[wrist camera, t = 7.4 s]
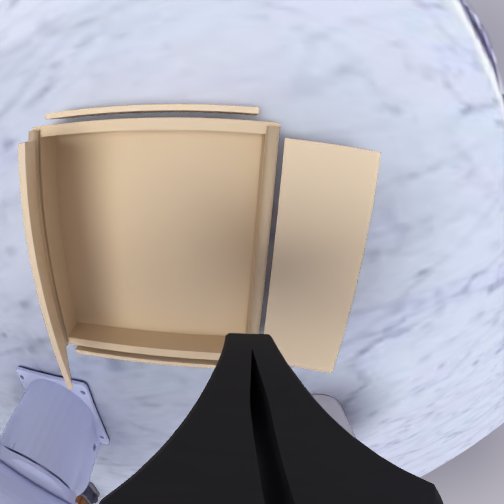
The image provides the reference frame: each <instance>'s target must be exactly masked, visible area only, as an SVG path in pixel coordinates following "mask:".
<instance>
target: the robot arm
mask: <svg viewBox="0 0 504 504" xmlns="http://www.w3.org/2000/svg"><path fill="white" fill-rule="evenodd" d="M16 372H17V374H18V376H19V378H20V381H21V383H22V385H23V387H24V389H25V391H26V392H25V393H24V395H23V397H22V399H21V400H20V402H19V404H18V406H17V407H16V409H15V411H14V413H13V415H12V416H11V418H10V420H9V422H8V424H7V426H6V428H5V429H4V431H3V433H2V435H1V437H0V504H78V503H77V502H75V499H76V497H77V496H79V495H80V494H81V493H83V492H84V490H85V489H86V488H87V486H88V483H89V480H90V476H91V473H92V469H93V466H94V462H95V459H96V456H97V452H98V449H99V446H100V444H105V445H108V444H109V439H108V437H107V434H106V432H105V430H104V427H103V425H102V423H101V420H100V418H99V415H98V413H97V410H96V408H95V405H94V403H93V400H92V397H91V395H90V392H89V389H88V387H87V385H86V384H85V383H83V382H79V381H74V380H71V381H72V386H73V389H69V390H68V388H67V385H66V383H65V380H64V378H61V377H56V376H52V375H48V374H44V373H40V372H36V371H32V370H28V369H25V368H21V367H18V368H17V369H16ZM99 504H443V501H442V499H441V497H440V495H439V493H438V491H437V489H436V487H435V485H434V484H432V483H430V482H428V481H426V480H423V479H421V478H419V477H417V476H415V475H413V474H411V473H409V472H407V471H405V470H403V469H401V468H399V467H397V466H396V465H394V464H392V463H391V462H389V461H387V460H386V459H384V458H382V457H381V456H379V455H378V454H376V453H375V452H373V451H372V450H371V449H369V448H368V447H367V446H365V445H364V444H363V443H361V442H360V441H359V440H357V439H356V438H355V437H353V436H352V435H351V434H350V433H349V432H347V431H346V430H345V429H344V428H343V427H342V426H341V425H340V424H338V423H337V422H336V421H335V420H334V419H333V418H332V417H331V416H330V415H329V414H328V413H327V412H326V411H325V410H324V409H323V408H322V406H321V405H320V404H319V403H318V402H317V401H316V400H315V399H314V397H313V396H312V395H311V394H310V393H309V392H308V390H307V389H306V388H305V387H304V385H303V384H302V383H301V381H300V380H299V379H298V377H297V376H296V374H295V373H294V372H293V370H292V369H291V368H290V366H289V365H288V363H287V362H286V360H285V358H284V357H283V355H282V354H281V352H280V350H279V349H278V347H277V345H276V344H275V342H274V340H273V338H272V337H271V336H270V335H269V334H244V333H228V334H227V335H226V336H225V342H224V346H223V349H222V352H221V355H220V358H219V360H218V363H217V365H216V367H215V369H214V371H213V373H212V376H211V378H210V380H209V382H208V383H207V385H206V387H205V389H204V390H203V392H202V394H201V395H200V397H199V399H198V401H197V402H196V404H195V405H194V407H193V408H192V410H191V411H190V413H189V414H188V415H187V417H186V418H185V420H184V421H183V422H182V424H181V425H180V426H179V427H178V429H177V430H176V431H175V432H174V434H173V435H172V436H171V437H170V438H169V440H168V441H167V442H166V443H165V444H164V445H163V446H162V447H161V449H160V450H159V451H158V452H157V453H156V454H155V455H154V456H153V457H152V458H151V459H150V460H149V461H148V462H146V463H145V464H144V465H143V466H142V467H141V468H140V469H139V470H138V471H137V472H136V473H135V474H134V475H133V476H131V477H130V478H129V479H128V480H126V481H125V482H124V483H123V484H121V485H120V486H119V487H117V488H116V489H115V490H114V491H112V492H111V493H110V494H108V495H107V496H106V497H104V498H103V499H102V500H101V501H100V503H99Z"/></svg>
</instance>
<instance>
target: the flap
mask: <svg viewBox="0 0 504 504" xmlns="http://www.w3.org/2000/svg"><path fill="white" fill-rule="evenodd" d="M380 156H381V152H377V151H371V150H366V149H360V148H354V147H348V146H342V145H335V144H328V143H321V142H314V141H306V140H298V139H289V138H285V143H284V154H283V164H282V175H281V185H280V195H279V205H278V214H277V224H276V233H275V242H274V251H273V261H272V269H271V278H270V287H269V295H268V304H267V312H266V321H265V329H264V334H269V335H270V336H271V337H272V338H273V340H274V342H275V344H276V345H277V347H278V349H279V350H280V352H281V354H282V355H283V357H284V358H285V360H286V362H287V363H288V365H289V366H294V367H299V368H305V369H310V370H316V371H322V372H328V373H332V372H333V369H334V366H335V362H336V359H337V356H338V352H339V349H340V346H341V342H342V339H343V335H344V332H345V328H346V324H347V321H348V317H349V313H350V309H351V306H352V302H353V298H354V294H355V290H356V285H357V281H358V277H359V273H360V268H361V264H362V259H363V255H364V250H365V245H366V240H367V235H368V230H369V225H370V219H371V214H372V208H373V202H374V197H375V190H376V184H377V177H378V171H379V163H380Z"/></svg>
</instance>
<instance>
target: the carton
mask: <svg viewBox="0 0 504 504" xmlns="http://www.w3.org/2000/svg"><path fill="white" fill-rule="evenodd" d="M146 112H204V113H228V114H245V115H258V114H259V107H246V106H229V105H205V104H151V105H127V106H112V107H99V108H88V109H79V110H70V111H63V112H55V113H48V114H46V119H64V118H73V117H83V116H94V115H106V114H122V113H146ZM279 133H280V127H279V123H275V122H264V121H252V120H237V119H219V118H179V117H166V118H127V119H109V120H95V121H83V122H73V123H64V124H55V125H47V126H40V127H33V131H29V141H31V140H35V162H36V183H37V196H38V207H39V217H40V225H41V233H42V240H43V247H44V253H45V259H46V264H47V270H48V275H49V280H50V285H51V289H52V294H53V298H54V302H55V307H56V311H57V315H58V318H59V322H60V326H61V330H62V333H63V337H64V340H65V344H66V346H67V345H68V344H74V345H78V346H77V348H76V352H77V353H80V354H86V355H92V356H99V357H105V358H112V359H119V360H127V361H135V362H143V363H152V364H162V365H173V366H186V367H200V368H215V367H216V365H217V363H218V360H219V358H220V355H221V352H222V349H223V346H224V342H225V336H226V335H227V334H228V333H244V334H259V331H260V322H261V313H262V304H263V295H264V285H265V276H266V267H267V257H268V248H269V238H270V228H271V218H272V208H273V198H274V187H275V177H276V166H277V155H278V144H279Z"/></svg>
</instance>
